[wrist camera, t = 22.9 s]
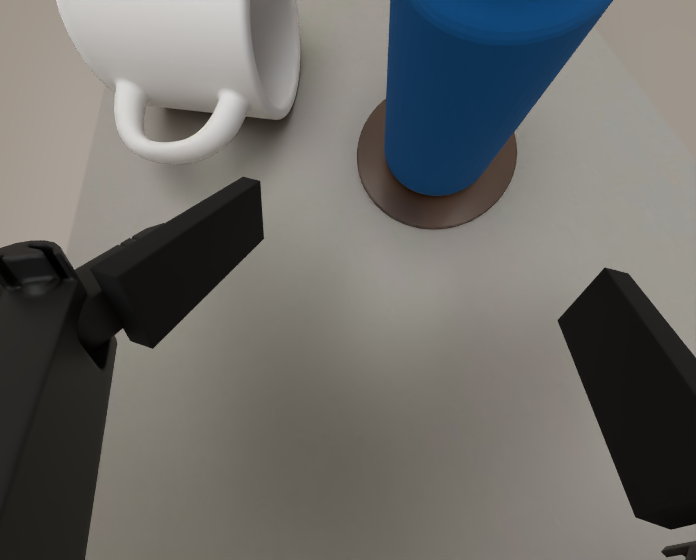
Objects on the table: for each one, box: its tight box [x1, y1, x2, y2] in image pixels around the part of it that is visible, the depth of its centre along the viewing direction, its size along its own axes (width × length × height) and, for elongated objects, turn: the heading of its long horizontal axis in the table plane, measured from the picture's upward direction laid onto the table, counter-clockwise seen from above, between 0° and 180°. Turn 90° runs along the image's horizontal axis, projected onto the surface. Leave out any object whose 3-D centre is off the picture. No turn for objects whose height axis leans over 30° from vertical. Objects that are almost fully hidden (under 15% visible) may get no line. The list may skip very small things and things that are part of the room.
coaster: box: [357, 99, 517, 229], centre depth 19 cm, size 10×10×1 cm
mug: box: [56, 0, 300, 164], centre depth 17 cm, size 12×10×8 cm
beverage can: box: [384, 0, 613, 196], centre depth 13 cm, size 6×6×12 cm
